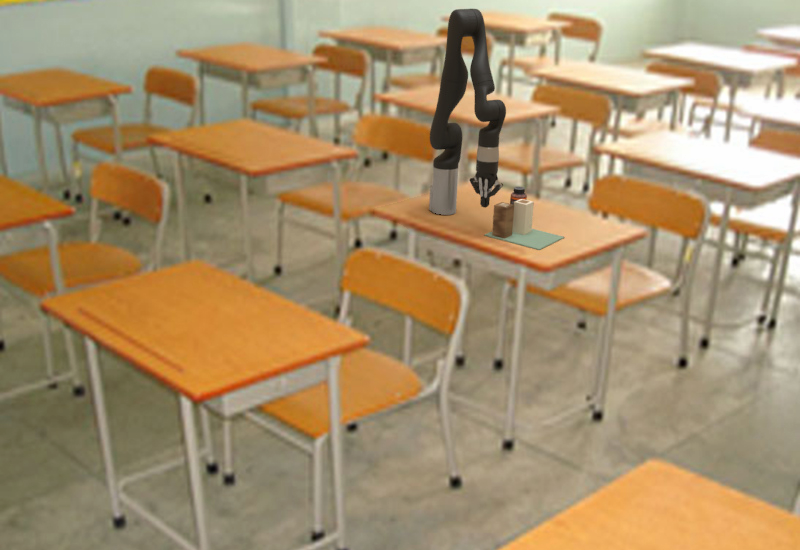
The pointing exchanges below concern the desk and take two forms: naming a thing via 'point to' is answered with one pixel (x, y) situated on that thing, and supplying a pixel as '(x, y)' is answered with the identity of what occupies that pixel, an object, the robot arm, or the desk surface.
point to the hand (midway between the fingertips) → (484, 206)
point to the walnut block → (503, 220)
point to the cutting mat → (531, 239)
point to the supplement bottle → (518, 194)
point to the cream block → (523, 216)
